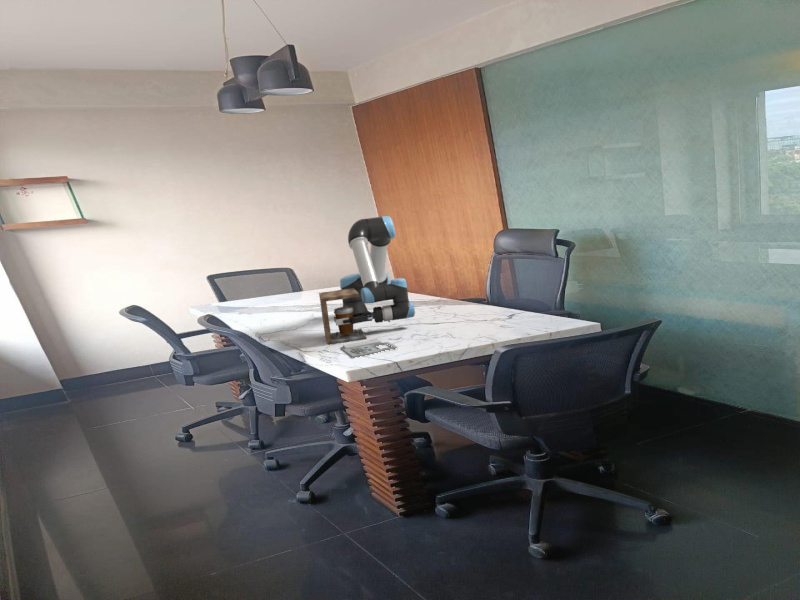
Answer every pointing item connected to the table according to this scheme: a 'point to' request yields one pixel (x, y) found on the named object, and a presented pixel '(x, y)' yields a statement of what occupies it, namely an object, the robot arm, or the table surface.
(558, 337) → the table surface
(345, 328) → the disposable coffee cup
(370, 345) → the office telephone
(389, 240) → the robot arm
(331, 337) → the walnut overhang shelf
